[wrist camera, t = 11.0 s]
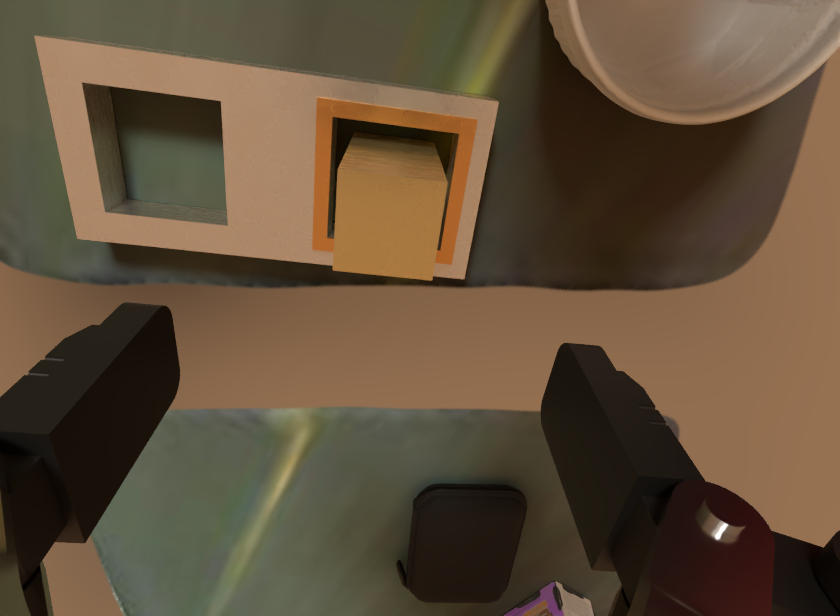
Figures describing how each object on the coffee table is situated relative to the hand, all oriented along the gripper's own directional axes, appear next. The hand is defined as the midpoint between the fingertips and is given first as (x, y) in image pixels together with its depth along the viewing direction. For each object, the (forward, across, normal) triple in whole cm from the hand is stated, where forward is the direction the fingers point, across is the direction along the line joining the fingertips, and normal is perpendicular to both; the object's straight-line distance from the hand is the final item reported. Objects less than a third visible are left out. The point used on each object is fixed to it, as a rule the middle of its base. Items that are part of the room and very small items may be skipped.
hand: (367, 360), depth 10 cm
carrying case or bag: (+21, -9, +33) cm, 40 cm away
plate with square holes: (+20, +6, +1) cm, 21 cm away
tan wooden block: (+20, 0, +2) cm, 21 cm away
